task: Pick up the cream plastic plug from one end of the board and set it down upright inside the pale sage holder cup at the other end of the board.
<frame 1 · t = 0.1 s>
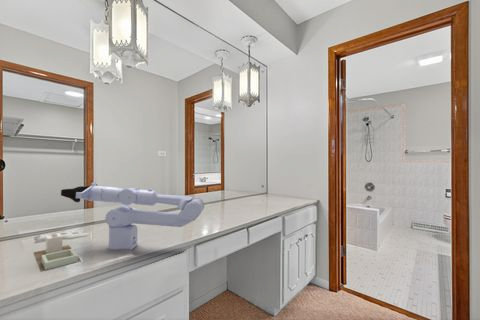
hand: (69, 191, 87), 22 cm above the worktop, tool horizontal, fingers open, 7 cm apart
holder: (59, 264, 73), resting on board
plug: (53, 251, 81), point 1 cm above the worktop, touching board
gun: (63, 240, 97), on the worktop
board: (56, 259, 77), on the worktop
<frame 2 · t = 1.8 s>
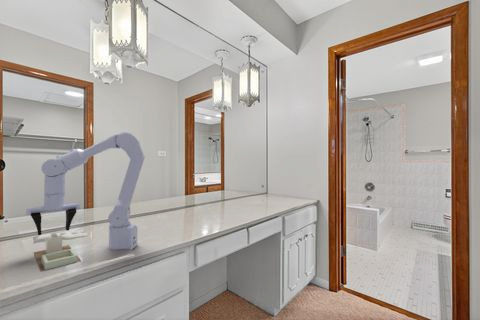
hand: (53, 232, 81), 8 cm above the worktop, tool pointing down, fingers open, 7 cm apart
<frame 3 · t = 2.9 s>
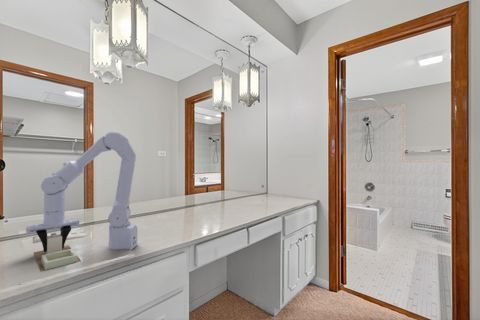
hand: (53, 249, 81), 2 cm above the worktop, tool pointing down, fingers closed on plug, 4 cm apart
plug: (53, 251, 81), point 1 cm above the worktop, touching board, gripper
everything else where it was.
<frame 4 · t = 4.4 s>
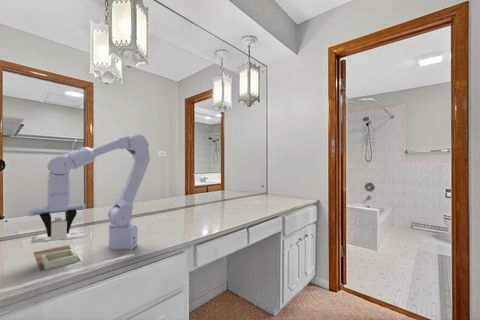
hand: (58, 234, 76), 9 cm above the worktop, tool pointing down, fingers closed on plug, 4 cm apart
plug: (58, 237, 76), point 8 cm above the worktop, touching gripper
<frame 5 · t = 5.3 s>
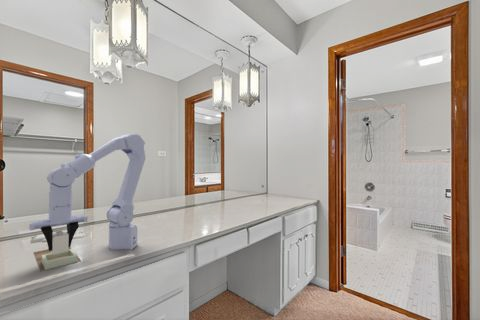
hand: (59, 248, 73), 5 cm above the worktop, tool pointing down, fingers closed on plug, 4 cm apart
plug: (59, 251, 74), point 4 cm above the worktop, touching gripper
when the fingers open (4 cm above the worktop, at t = 5.9 s): plug drops 2 cm, resting on holder.
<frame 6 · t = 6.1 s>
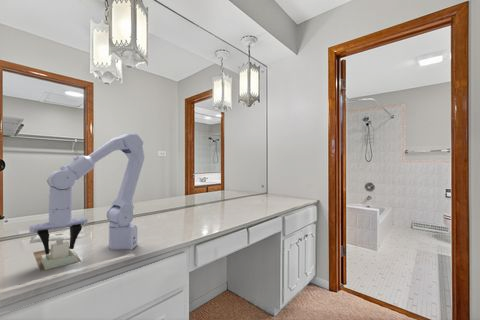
hand: (59, 250, 73), 4 cm above the worktop, tool pointing down, fingers open, 6 cm apart
plug: (59, 260, 74), point 1 cm above the worktop, touching holder
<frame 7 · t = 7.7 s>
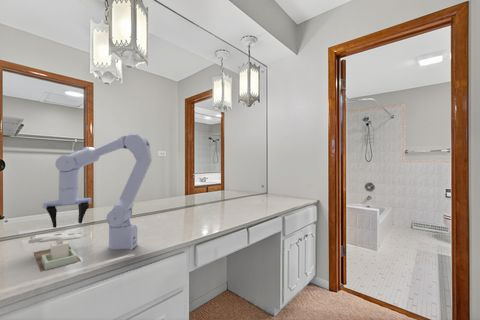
hand: (67, 225, 85), 9 cm above the worktop, tool pointing down, fingers open, 7 cm apart
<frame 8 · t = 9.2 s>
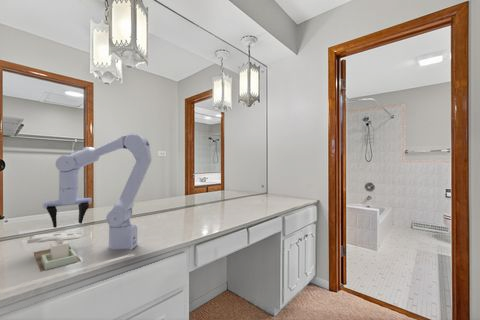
hand: (68, 224, 85), 9 cm above the worktop, tool pointing down, fingers open, 7 cm apart
at the end: plug 0.3 cm off-centre on the holder, point 1.3 cm above the holder's base; plug tilted 0°; the gripper is holding nothing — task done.
